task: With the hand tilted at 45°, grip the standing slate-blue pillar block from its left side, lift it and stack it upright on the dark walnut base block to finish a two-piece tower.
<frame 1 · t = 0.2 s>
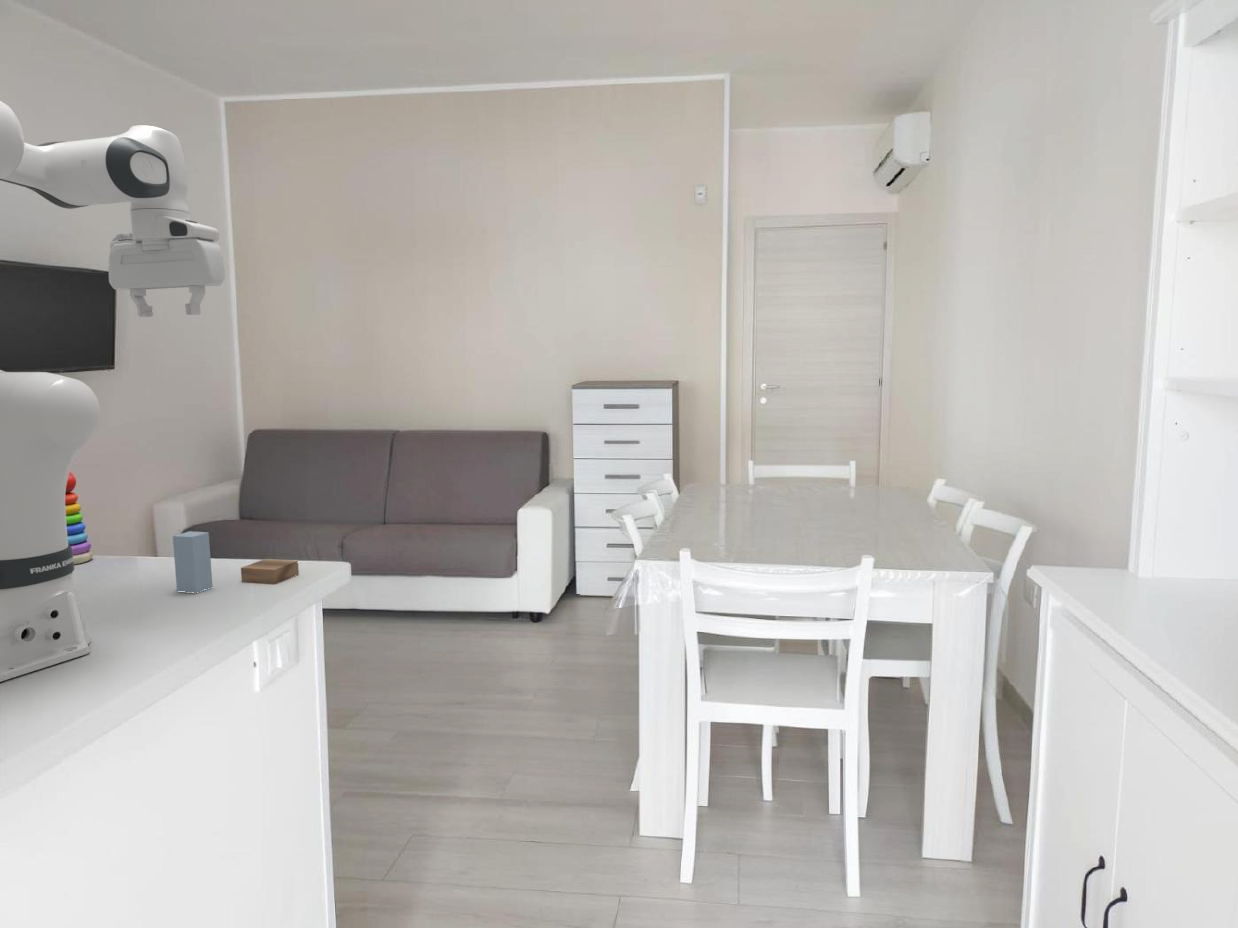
hand: (169, 315, 148), 47 cm above the table, tool pointing down, fingers open, 8 cm apart
pillar: (195, 590, 156), on the table
base block: (270, 580, 163), on the table
stacking toy: (70, 562, 177), on the table
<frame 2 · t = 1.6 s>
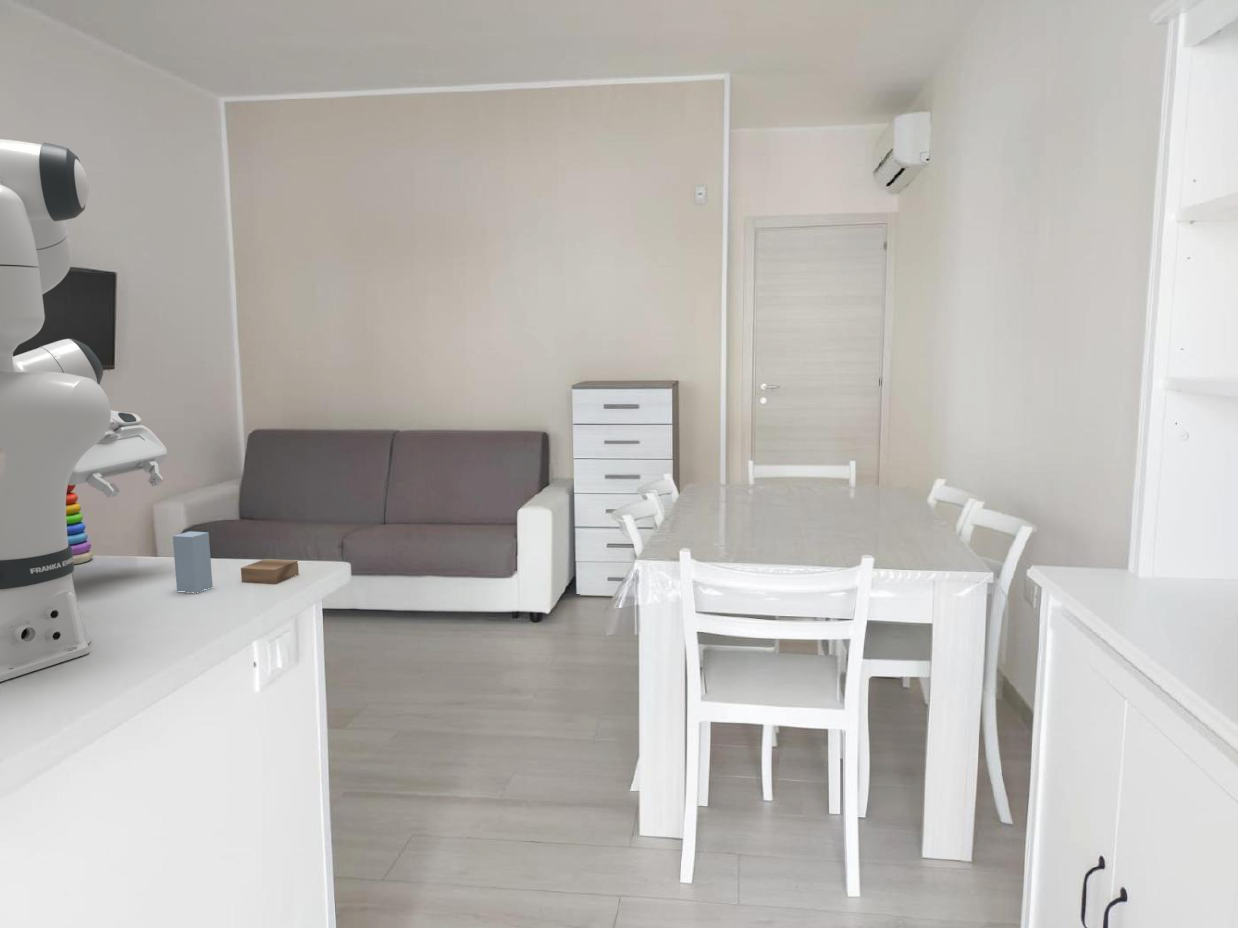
hand: (137, 489, 157), 17 cm above the table, tool tilted 45°, fingers open, 8 cm apart
nothing on the table moved.
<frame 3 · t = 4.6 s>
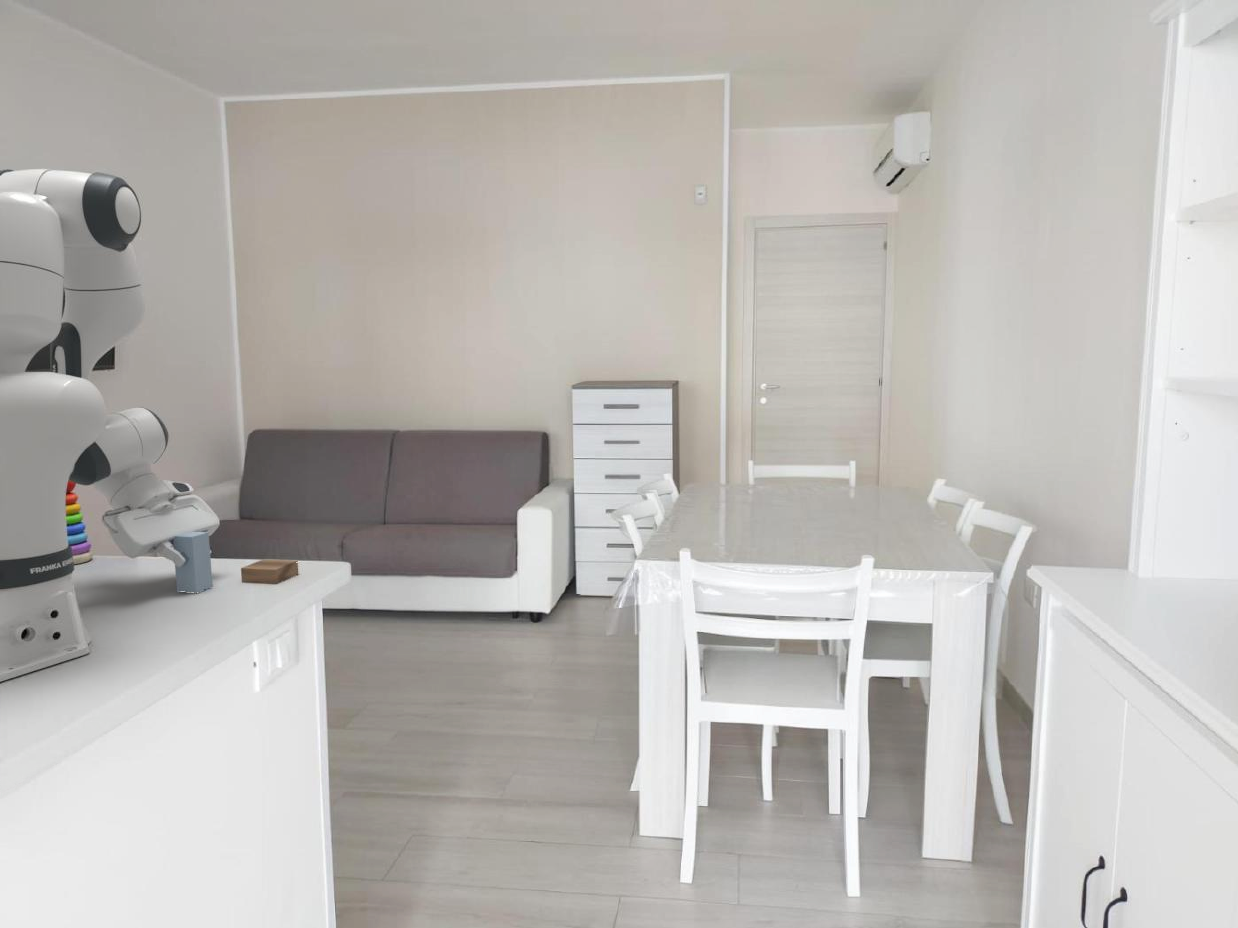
hand: (195, 560, 155), 5 cm above the table, tool tilted 45°, fingers closed on pillar, 4 cm apart
pillar: (195, 589, 156), on the table, touching gripper
everything else where it was.
when the fingers open (10 cm above the table, at t = 8.8 s): pillar drops 2 cm, point 3 cm above the table.
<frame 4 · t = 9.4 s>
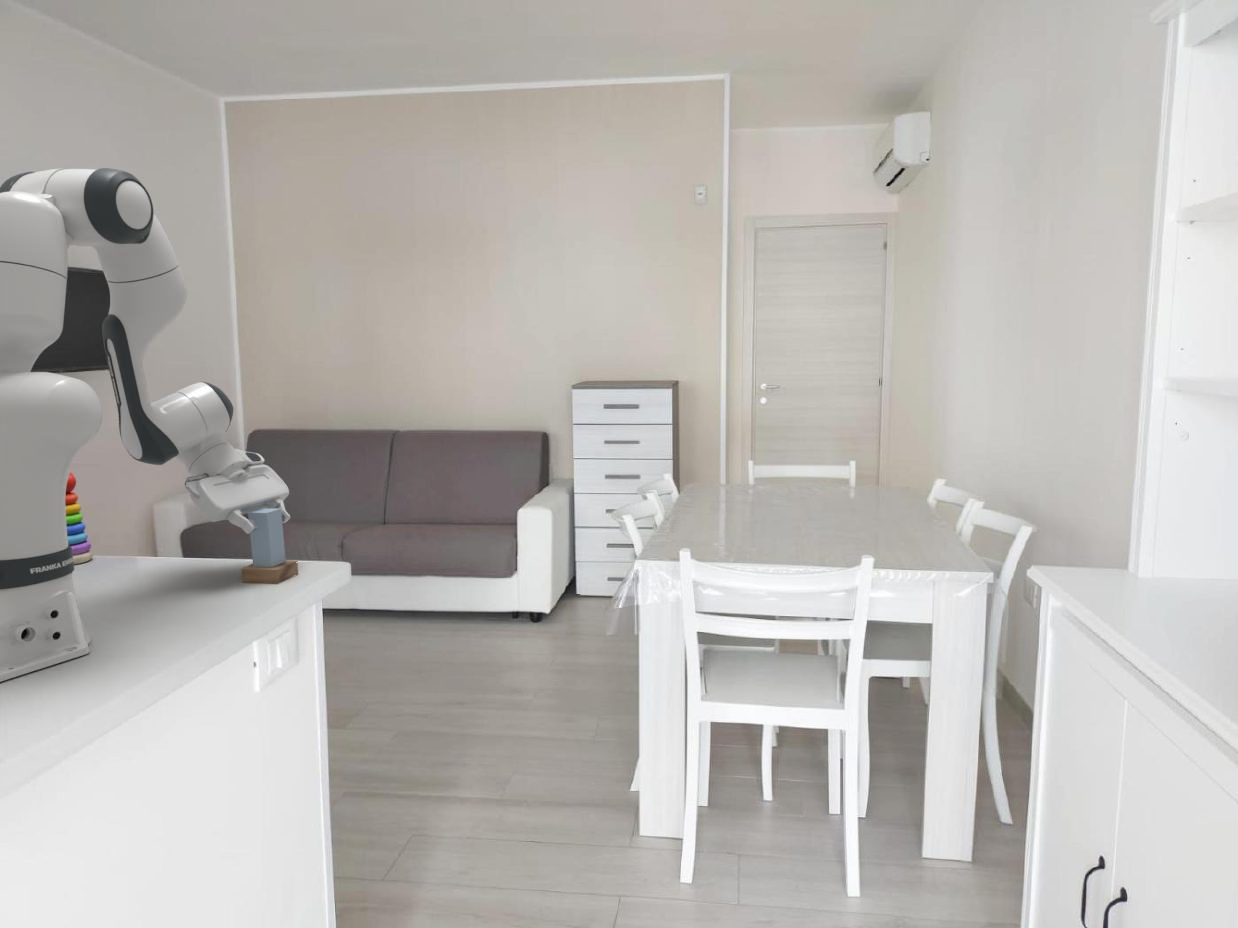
hand: (270, 525, 162), 10 cm above the table, tool tilted 45°, fingers open, 8 cm apart
pillar: (269, 563, 163), point 3 cm above the table
everything else where it was.
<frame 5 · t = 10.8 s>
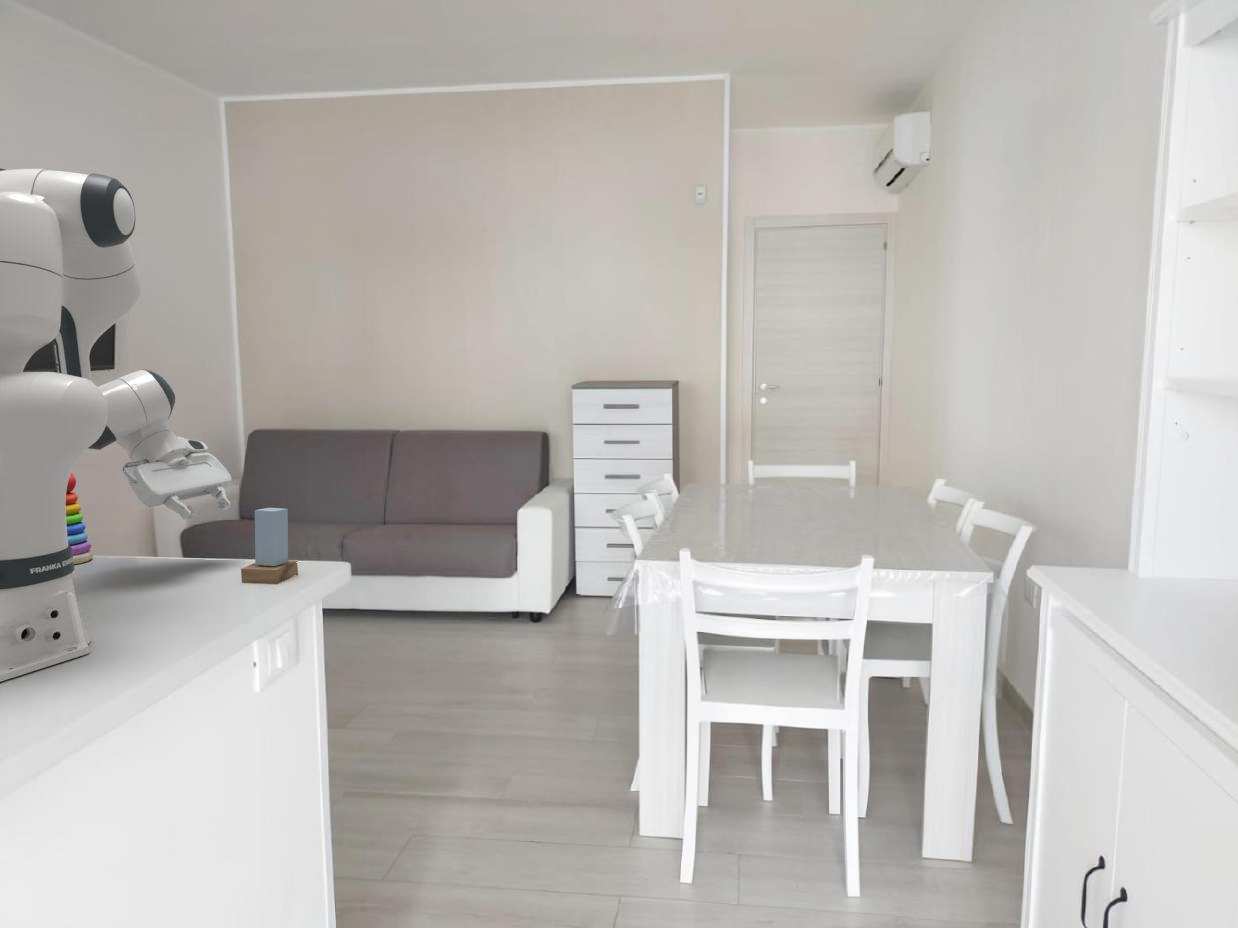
hand: (209, 512, 165), 12 cm above the table, tool tilted 45°, fingers open, 8 cm apart
pillar: (271, 563, 163), point 3 cm above the table, touching base block
base block: (270, 580, 163), on the table, touching pillar
everything else where it was.
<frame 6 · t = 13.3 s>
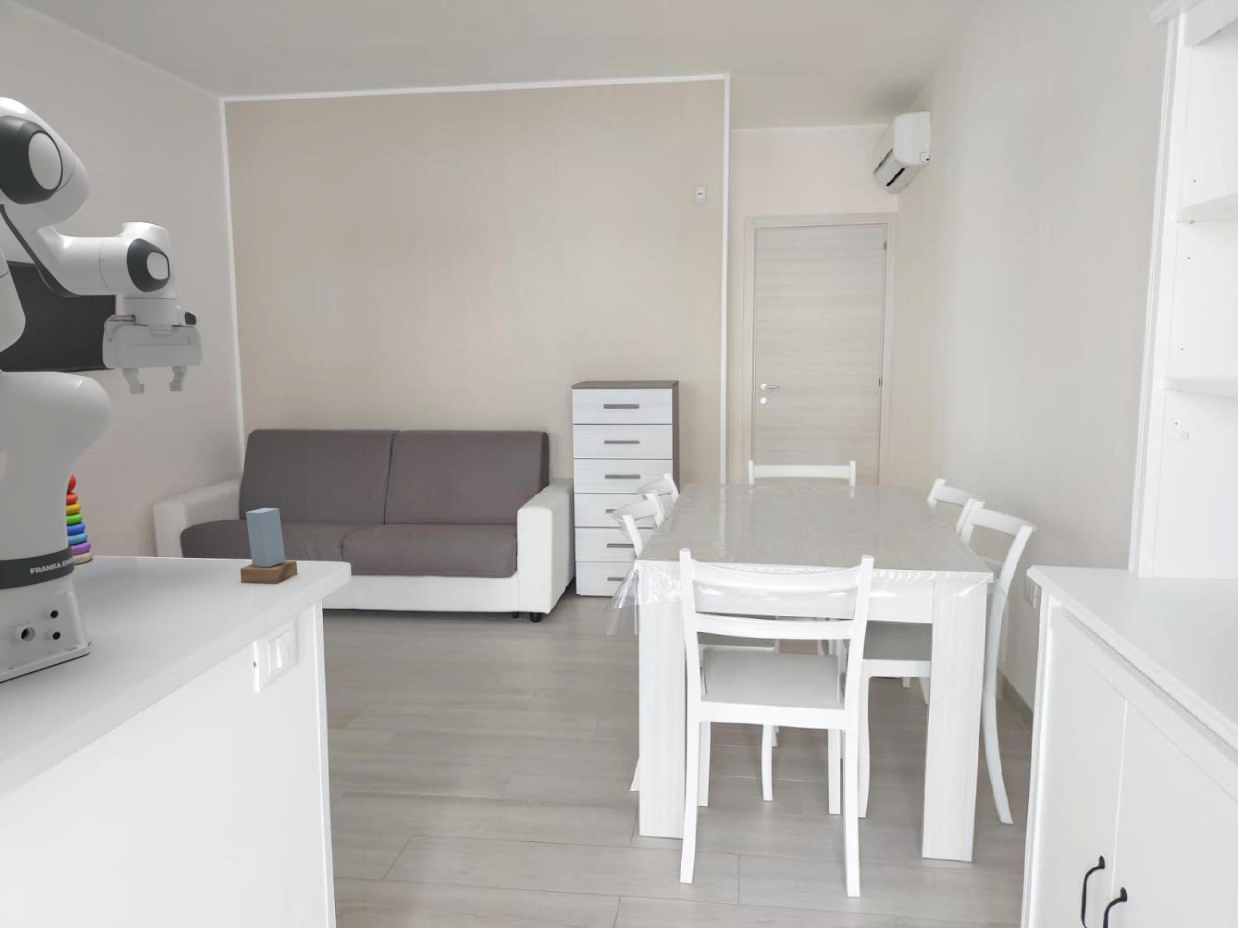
hand: (157, 392, 162), 34 cm above the table, tool pointing down, fingers open, 8 cm apart
pillar: (269, 563, 162), point 3 cm above the table
base block: (269, 580, 163), on the table
everything else where it was.
at the end: pillar 0.1 cm off-centre on the base block, point 3.2 cm above the base block's base; pillar tilted 3°; the gripper is holding nothing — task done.
